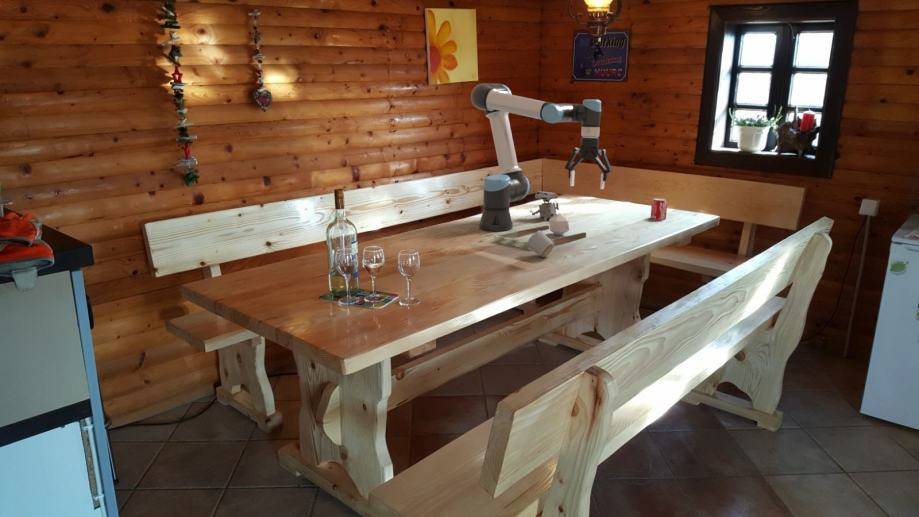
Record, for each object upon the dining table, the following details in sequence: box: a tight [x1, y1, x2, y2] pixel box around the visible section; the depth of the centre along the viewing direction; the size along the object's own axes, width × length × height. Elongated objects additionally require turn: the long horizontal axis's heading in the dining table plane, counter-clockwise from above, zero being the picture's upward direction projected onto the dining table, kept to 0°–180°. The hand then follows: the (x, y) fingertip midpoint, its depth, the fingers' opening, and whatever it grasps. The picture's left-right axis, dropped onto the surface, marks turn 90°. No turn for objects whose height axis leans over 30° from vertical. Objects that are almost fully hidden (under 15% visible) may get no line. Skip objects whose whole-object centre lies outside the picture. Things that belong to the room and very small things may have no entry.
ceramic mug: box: [526, 230, 555, 258], centre depth 254 cm, size 11×8×8 cm
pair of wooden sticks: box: [493, 224, 587, 251], centre depth 282 cm, size 21×34×2 cm, turn 133°
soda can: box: [650, 197, 668, 221], centre depth 317 cm, size 7×7×12 cm
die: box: [548, 212, 570, 236], centre depth 290 cm, size 8×9×10 cm
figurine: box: [530, 190, 560, 222], centre depth 318 cm, size 9×12×15 cm
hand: (586, 187), depth 288 cm, fingers open, 13 cm apart
